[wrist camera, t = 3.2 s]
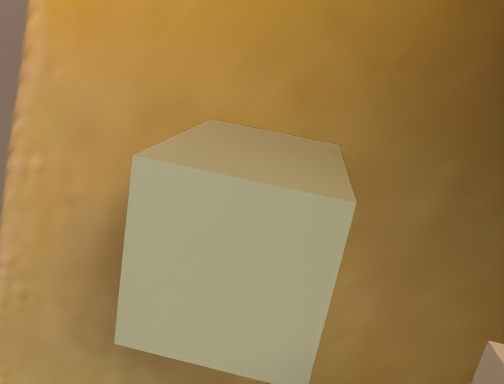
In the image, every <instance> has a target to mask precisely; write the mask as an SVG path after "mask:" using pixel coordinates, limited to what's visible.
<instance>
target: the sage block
mask: <svg viewBox="0 0 504 384" xmlns="http://www.w3.org/2000/svg"><path fill="white" fill-rule="evenodd" d="M356 203H357V202H356V199H355V196H354V193H353V190H352V186H351V183H350V180H349V177H348V173H347V170H346V167H345V164H344V161H343V157H342V154H341V151H340V148H339V145H337V144H332V143H327V142H322V141H317V140H312V139H307V138H302V137H297V136H293V135H288V134H283V133H278V132H273V131H268V130H263V129H258V128H253V127H248V126H243V125H238V124H233V123H228V122H223V121H218V120H213V119H210V120H208V121H205V122H203V123H201V124H199V125H197V126H195V127H192V128H190V129H188V130H186V131H184V132H182V133H179V134H177V135H175V136H173V137H171V138H169V139H167V140H164V141H162V142H160V143H158V144H156V145H154V146H151V147H149V148H147V149H145V150H143V151H141V152H139V153H136V154H134V155H133V156H132V166H131V176H130V186H129V196H128V206H127V216H126V226H125V236H124V246H123V257H122V267H121V277H120V287H119V297H118V307H117V317H116V327H115V337H114V344H116V345H120V346H124V347H128V348H132V349H136V350H140V351H144V352H148V353H152V354H156V355H160V356H164V357H168V358H172V359H176V360H180V361H184V362H188V363H192V364H196V365H200V366H203V367H207V368H211V369H215V370H219V371H223V372H227V373H231V374H235V375H239V376H243V377H247V378H251V379H255V380H259V381H263V382H267V383H271V384H309V380H310V377H311V373H312V369H313V365H314V362H315V358H316V354H317V350H318V347H319V343H320V339H321V335H322V332H323V328H324V324H325V320H326V316H327V313H328V309H329V305H330V301H331V298H332V294H333V290H334V286H335V283H336V279H337V275H338V271H339V268H340V264H341V260H342V256H343V252H344V249H345V245H346V241H347V237H348V234H349V230H350V226H351V222H352V219H353V215H354V211H355V207H356Z"/></svg>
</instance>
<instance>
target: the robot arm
mask: <svg viewBox="0 0 504 384" xmlns="http://www.w3.org/2000/svg"><path fill="white" fill-rule="evenodd" d="M471 384H504V344H501V343H497V342H492V341H488V342H487V344H486V347H485V349H484V352H483V354H482V357H481V359H480V362H479V364H478V367H477V369H476V372H475V375H474V377H473V380H472V382H471Z"/></svg>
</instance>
